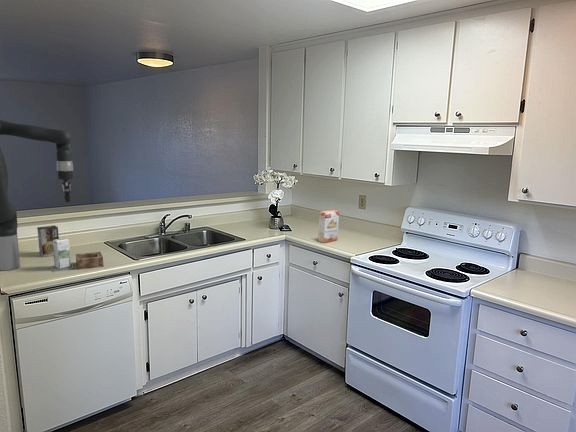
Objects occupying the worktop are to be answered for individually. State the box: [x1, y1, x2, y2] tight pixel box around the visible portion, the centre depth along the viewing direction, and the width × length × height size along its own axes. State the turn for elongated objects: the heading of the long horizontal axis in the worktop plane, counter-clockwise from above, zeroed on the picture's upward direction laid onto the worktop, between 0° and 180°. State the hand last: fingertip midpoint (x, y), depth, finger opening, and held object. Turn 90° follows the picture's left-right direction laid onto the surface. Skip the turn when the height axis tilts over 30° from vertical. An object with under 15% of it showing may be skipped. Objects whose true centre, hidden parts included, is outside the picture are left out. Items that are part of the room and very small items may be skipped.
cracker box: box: [317, 209, 340, 244], centre depth 283 cm, size 14×6×21 cm, turn 131°
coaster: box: [52, 263, 74, 273], centre depth 212 cm, size 9×9×1 cm
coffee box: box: [36, 224, 60, 258], centre depth 234 cm, size 9×6×16 cm
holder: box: [75, 251, 104, 270], centre depth 218 cm, size 12×12×5 cm
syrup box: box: [53, 237, 71, 269], centre depth 211 cm, size 6×6×14 cm
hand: (67, 200), depth 218 cm, fingers open, 8 cm apart
